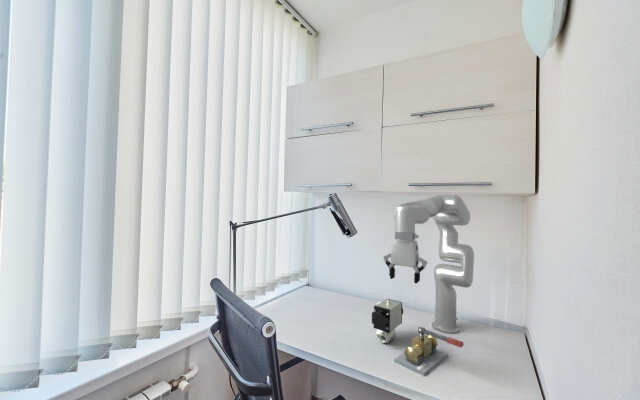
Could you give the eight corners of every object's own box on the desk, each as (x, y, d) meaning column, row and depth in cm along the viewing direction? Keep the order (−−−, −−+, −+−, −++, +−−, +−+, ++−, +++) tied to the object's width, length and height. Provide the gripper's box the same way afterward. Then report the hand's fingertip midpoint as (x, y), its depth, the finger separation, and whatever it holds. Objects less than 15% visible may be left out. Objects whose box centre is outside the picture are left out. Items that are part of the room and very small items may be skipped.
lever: (416, 332, 108) (416, 328, 108) (420, 330, 110) (420, 326, 110) (460, 348, 96) (460, 344, 96) (463, 345, 98) (463, 341, 98)
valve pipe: (425, 346, 116) (425, 325, 116) (437, 351, 112) (437, 329, 112) (404, 361, 104) (404, 336, 105) (417, 367, 100) (417, 342, 101)
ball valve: (386, 330, 133) (387, 293, 133) (403, 336, 127) (404, 297, 128) (368, 344, 119) (368, 302, 120) (386, 350, 114) (387, 307, 114)
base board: (419, 345, 119) (419, 342, 119) (447, 356, 110) (447, 353, 110) (394, 361, 106) (394, 358, 106) (424, 375, 97) (424, 372, 97)
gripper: (430, 237, 107) (429, 282, 106) (388, 234, 117) (387, 275, 117) (424, 239, 101) (423, 286, 100) (380, 235, 111) (379, 278, 111)
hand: (404, 280), depth 108 cm, fingers open, 9 cm apart
